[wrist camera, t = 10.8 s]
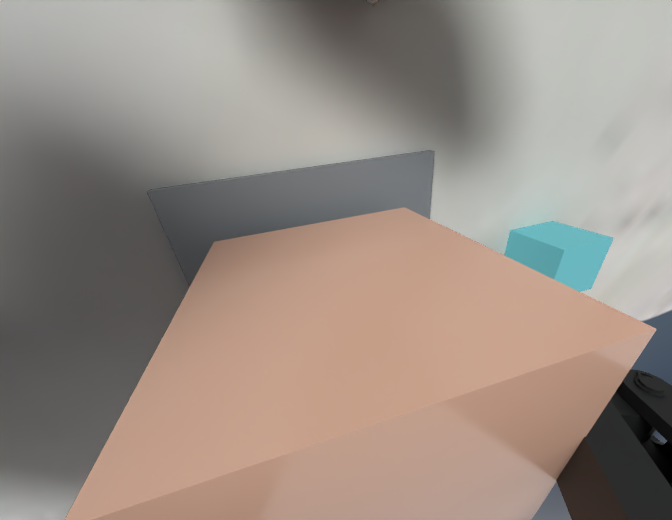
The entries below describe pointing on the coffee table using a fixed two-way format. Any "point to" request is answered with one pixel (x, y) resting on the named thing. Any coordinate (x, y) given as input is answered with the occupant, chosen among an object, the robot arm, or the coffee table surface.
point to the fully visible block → (560, 252)
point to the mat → (288, 201)
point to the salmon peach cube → (362, 382)
